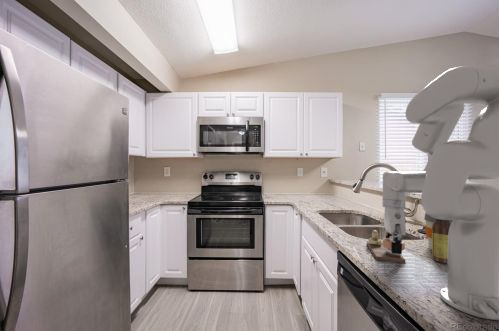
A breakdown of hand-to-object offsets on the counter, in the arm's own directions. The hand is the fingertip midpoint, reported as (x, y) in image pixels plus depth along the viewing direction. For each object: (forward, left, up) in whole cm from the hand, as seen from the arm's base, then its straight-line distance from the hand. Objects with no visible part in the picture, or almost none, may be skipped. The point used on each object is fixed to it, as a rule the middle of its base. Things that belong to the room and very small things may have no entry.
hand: (393, 249), depth 88 cm
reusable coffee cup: (+18, -24, -4) cm, 30 cm away
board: (+5, +2, -4) cm, 7 cm away
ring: (0, 0, +1) cm, 1 cm away
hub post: (+11, +4, -2) cm, 12 cm away
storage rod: (0, 0, -2) cm, 2 cm away
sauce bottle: (+4, -18, -4) cm, 18 cm away
